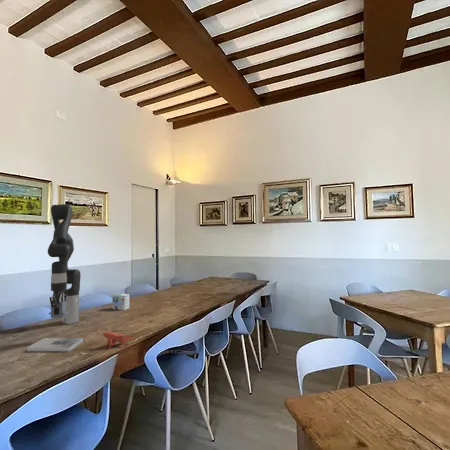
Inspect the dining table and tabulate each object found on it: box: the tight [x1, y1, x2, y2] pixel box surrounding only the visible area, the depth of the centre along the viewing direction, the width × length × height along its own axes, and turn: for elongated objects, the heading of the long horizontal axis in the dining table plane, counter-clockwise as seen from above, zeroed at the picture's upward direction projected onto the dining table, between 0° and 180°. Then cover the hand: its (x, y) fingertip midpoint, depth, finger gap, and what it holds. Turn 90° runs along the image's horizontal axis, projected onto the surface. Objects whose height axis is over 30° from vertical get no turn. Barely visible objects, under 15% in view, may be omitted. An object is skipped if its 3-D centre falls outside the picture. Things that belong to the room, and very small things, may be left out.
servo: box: [48, 301, 68, 319], centre depth 167 cm, size 4×8×8 cm, turn 90°
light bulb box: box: [111, 292, 130, 311], centre depth 236 cm, size 11×7×11 cm, turn 76°
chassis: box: [26, 337, 84, 353], centre depth 154 cm, size 14×20×2 cm
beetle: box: [102, 321, 135, 351], centre depth 157 cm, size 15×12×13 cm
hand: (58, 313), depth 167 cm, fingers closed on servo, 4 cm apart
